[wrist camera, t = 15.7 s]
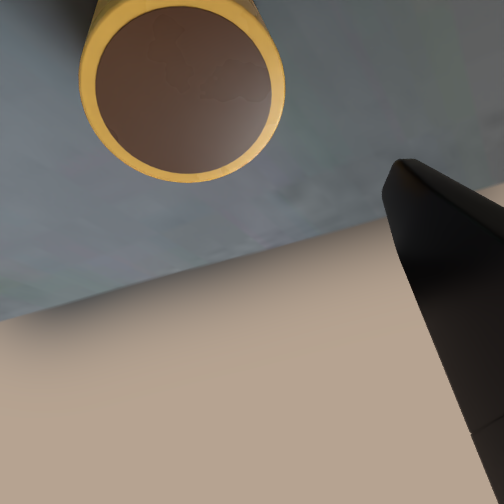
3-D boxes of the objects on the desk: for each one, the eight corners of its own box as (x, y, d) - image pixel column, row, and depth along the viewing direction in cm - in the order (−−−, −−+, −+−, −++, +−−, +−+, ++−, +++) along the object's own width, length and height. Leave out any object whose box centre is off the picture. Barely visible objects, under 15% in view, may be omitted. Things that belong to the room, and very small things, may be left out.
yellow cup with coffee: (111, 126, 14) (101, 187, 12) (72, -60, 10) (48, -22, 8) (255, 125, 15) (273, 181, 13) (272, -46, 11) (302, -9, 9)
